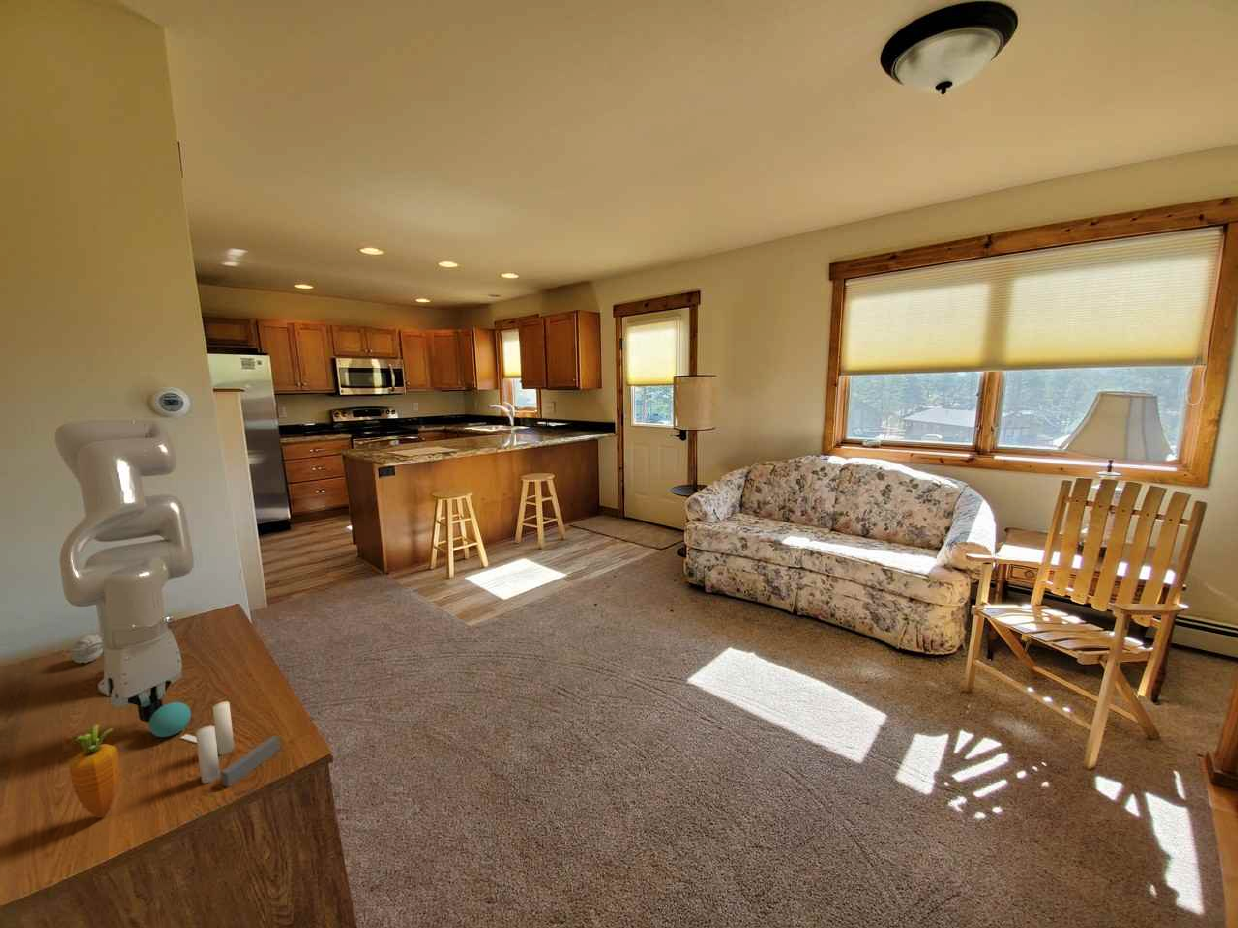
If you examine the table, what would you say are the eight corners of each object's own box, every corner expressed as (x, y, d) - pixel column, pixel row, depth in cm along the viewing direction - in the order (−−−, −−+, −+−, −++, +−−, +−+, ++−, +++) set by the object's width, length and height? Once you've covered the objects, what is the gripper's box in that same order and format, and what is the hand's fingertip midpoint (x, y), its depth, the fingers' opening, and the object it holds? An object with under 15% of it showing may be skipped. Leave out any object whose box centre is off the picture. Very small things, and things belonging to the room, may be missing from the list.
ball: (140, 735, 92) (141, 709, 90) (176, 715, 97) (178, 690, 96) (161, 749, 90) (163, 722, 89) (197, 728, 96) (199, 703, 94)
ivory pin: (214, 752, 88) (209, 708, 87) (228, 743, 91) (223, 700, 89) (224, 755, 88) (218, 710, 86) (237, 746, 90) (232, 702, 89)
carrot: (101, 804, 77) (87, 719, 75) (134, 802, 78) (122, 717, 75) (69, 832, 72) (53, 742, 70) (105, 830, 73) (90, 740, 71)
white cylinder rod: (198, 781, 82) (192, 733, 81) (213, 770, 84) (207, 724, 83) (208, 784, 81) (202, 736, 80) (223, 774, 84) (217, 727, 82)
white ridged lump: (82, 671, 114) (77, 643, 113) (63, 666, 116) (58, 639, 115) (114, 658, 120) (110, 631, 119) (96, 653, 122) (92, 627, 121)
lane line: (180, 738, 92) (180, 737, 92) (186, 734, 93) (186, 733, 93) (213, 748, 89) (213, 747, 89) (219, 744, 90) (219, 743, 90)
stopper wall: (222, 784, 81) (220, 771, 81) (274, 747, 90) (272, 735, 89) (228, 786, 81) (227, 773, 80) (280, 749, 89) (278, 737, 89)
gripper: (173, 612, 100) (184, 694, 102) (74, 647, 86) (89, 741, 88) (197, 617, 98) (208, 701, 100) (99, 653, 84) (114, 750, 86)
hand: (152, 719), depth 94 cm, fingers closed
